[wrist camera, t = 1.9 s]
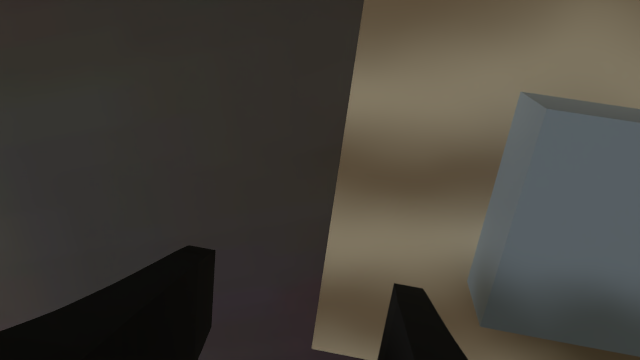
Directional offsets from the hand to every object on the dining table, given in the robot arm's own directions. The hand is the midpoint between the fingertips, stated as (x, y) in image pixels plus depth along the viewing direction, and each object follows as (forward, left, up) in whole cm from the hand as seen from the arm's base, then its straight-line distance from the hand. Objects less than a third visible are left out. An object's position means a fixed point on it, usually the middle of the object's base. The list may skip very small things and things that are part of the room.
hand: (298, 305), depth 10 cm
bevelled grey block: (0, -9, -9) cm, 13 cm away
